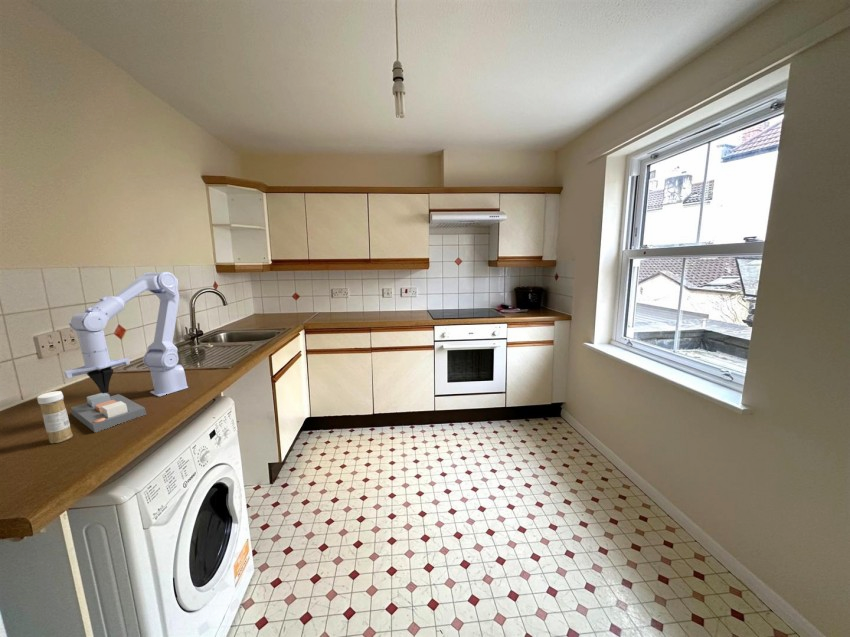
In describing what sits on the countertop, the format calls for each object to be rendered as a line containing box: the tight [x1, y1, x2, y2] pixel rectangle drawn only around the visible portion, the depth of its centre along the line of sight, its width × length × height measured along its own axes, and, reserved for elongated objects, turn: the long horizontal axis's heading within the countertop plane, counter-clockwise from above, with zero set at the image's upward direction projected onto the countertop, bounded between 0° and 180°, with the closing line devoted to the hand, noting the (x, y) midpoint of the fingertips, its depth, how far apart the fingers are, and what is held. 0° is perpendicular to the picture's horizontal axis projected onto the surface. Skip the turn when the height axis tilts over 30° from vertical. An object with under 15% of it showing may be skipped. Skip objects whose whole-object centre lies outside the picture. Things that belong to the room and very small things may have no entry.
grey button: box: [86, 392, 111, 408], centre depth 109 cm, size 4×4×3 cm
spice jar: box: [36, 390, 74, 444], centre depth 91 cm, size 5×5×14 cm
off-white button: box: [102, 401, 128, 418], centre depth 101 cm, size 4×4×3 cm
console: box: [70, 393, 147, 433], centre depth 106 cm, size 12×23×3 cm, turn 58°
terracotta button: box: [95, 400, 117, 413], centre depth 106 cm, size 4×4×3 cm
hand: (104, 392), depth 105 cm, fingers closed
